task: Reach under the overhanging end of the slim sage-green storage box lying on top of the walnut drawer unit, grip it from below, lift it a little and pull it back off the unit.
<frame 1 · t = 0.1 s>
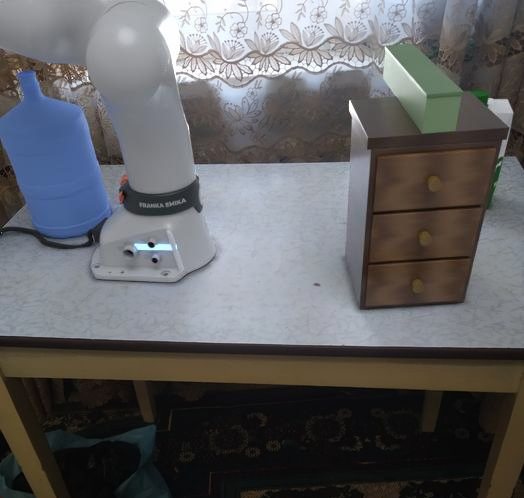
paper tube: (165, 198, 114), on the table
milk carton: (467, 201, 105), on the table
storage box: (414, 101, 72), point 26 cm above the table, touching drawer unit
drawer unit: (400, 278, 86), on the table
water jug: (75, 221, 109), on the table
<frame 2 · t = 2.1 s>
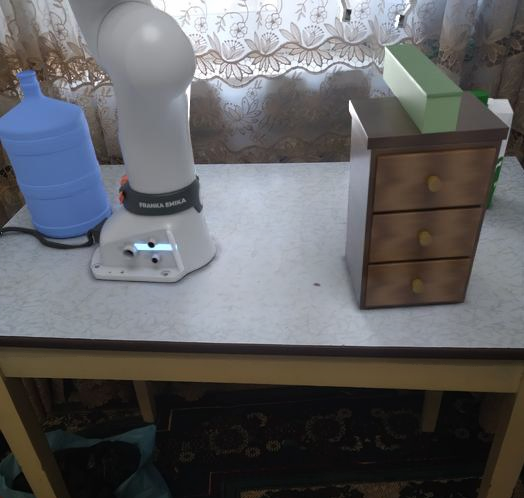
hand: (372, 24, 88), 31 cm above the table, tool tilted 15°, fingers open, 8 cm apart
nothing on the table moved.
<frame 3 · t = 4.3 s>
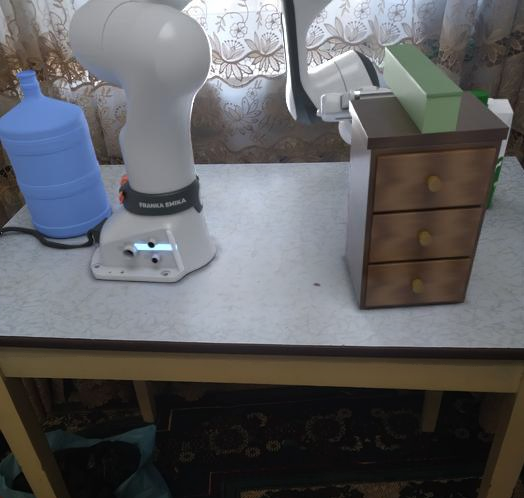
hand: (383, 92, 90), 22 cm above the table, tool pointing upward, fingers open, 8 cm apart
nothing on the table moved.
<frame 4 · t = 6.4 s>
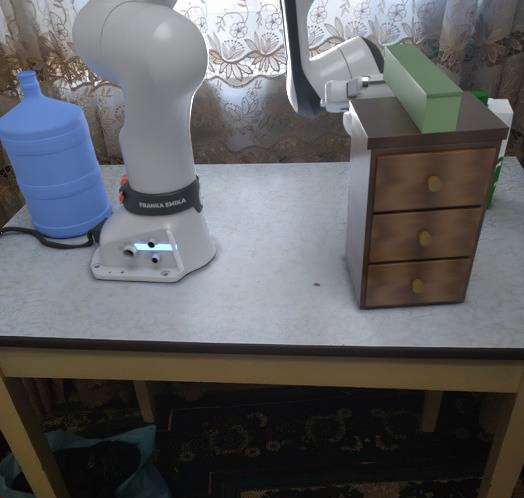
hand: (394, 78, 82), 26 cm above the table, tool pointing upward, fingers open, 8 cm apart
nothing on the table moved.
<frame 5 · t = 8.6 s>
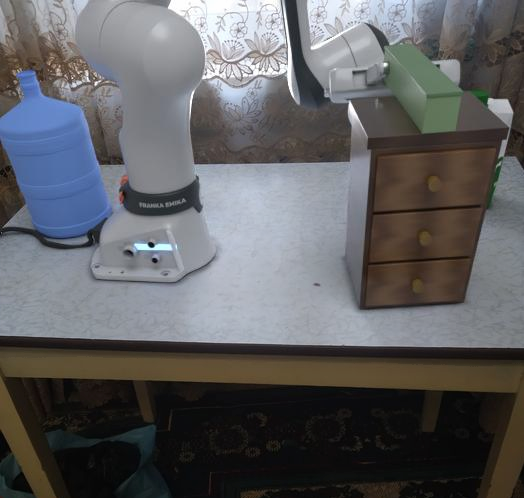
hand: (403, 65, 76), 29 cm above the table, tool pointing upward, fingers closed on storage box, 4 cm apart
storage box: (414, 101, 72), point 26 cm above the table, touching drawer unit, gripper
everything else where it was.
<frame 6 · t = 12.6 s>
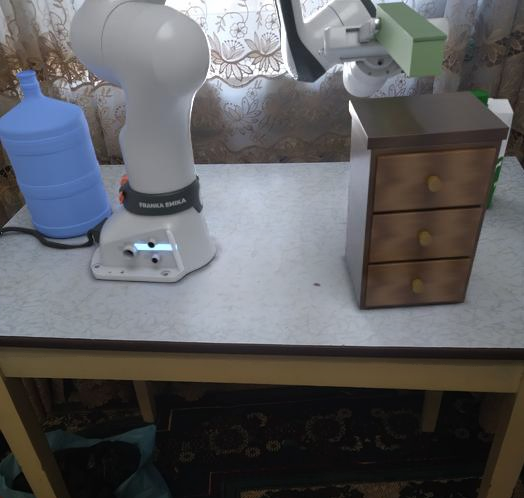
hand: (394, 21, 80), 33 cm above the table, tool pointing upward, fingers closed on storage box, 4 cm apart
storage box: (403, 53, 76), point 30 cm above the table, touching gripper
everything else where it was.
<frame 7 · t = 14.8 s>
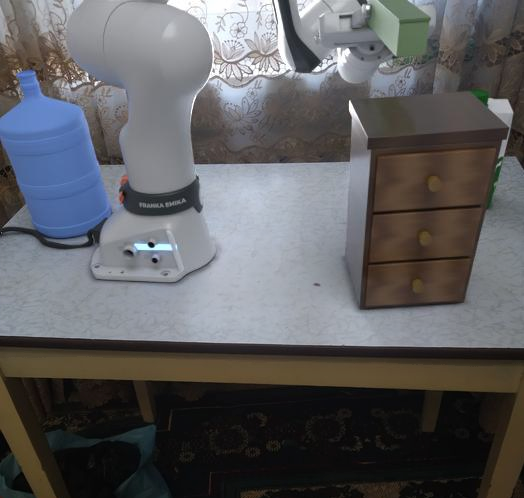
hand: (384, 7, 85), 33 cm above the table, tool pointing upward, fingers closed on storage box, 4 cm apart
storage box: (392, 37, 81), point 31 cm above the table, touching gripper
everything else where it was.
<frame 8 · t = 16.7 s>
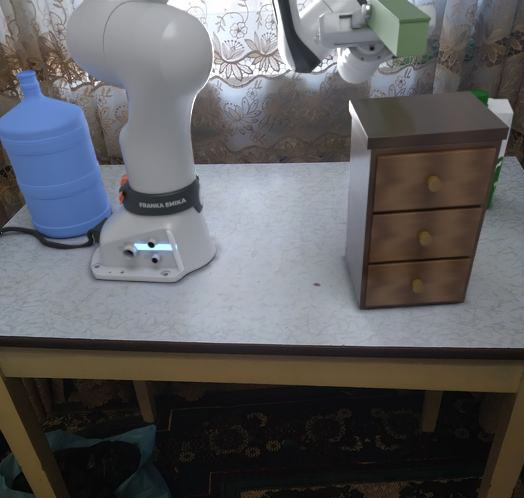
hand: (384, 7, 85), 33 cm above the table, tool pointing upward, fingers closed on storage box, 4 cm apart
storage box: (392, 37, 81), point 31 cm above the table, touching gripper
everything else where it was.
at the end: storage box moved 17.1 cm from its start; storage box touching gripper; the gripper is holding storage box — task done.
